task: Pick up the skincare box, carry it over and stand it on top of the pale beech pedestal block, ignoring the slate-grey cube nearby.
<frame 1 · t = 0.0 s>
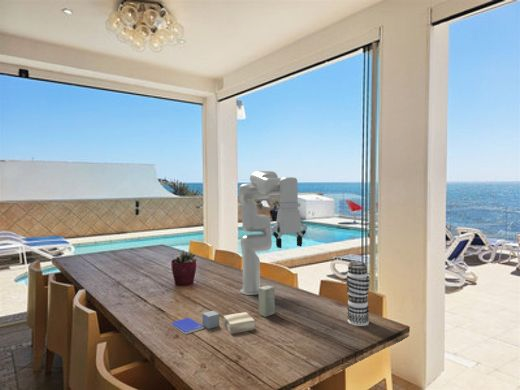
hand: (289, 246, 135), 31 cm above the table, fingers open, 9 cm apart
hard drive: (187, 328, 130), on the table
pedestal: (238, 327, 129), on the table
decorative candle: (358, 322, 132), on the table
skincare box: (266, 314, 142), on the table
grey cube: (210, 325, 130), on the table
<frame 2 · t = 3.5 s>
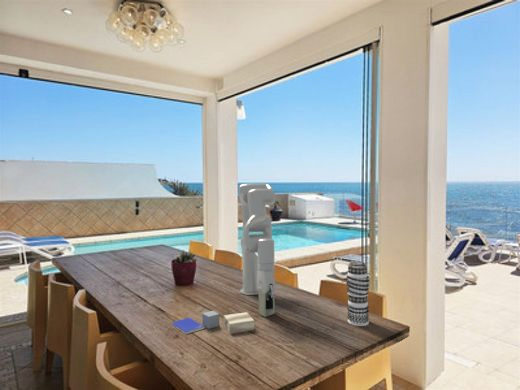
hand: (266, 306, 142), 3 cm above the table, fingers closed on skincare box, 5 cm apart
skincare box: (266, 314, 142), on the table, touching gripper
everything else where it was.
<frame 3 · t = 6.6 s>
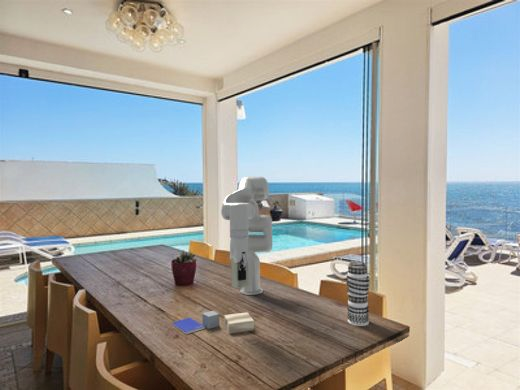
hand: (239, 277, 129), 20 cm above the table, fingers closed on skincare box, 5 cm apart
skincare box: (240, 287, 129), point 16 cm above the table, touching gripper
everything else where it was.
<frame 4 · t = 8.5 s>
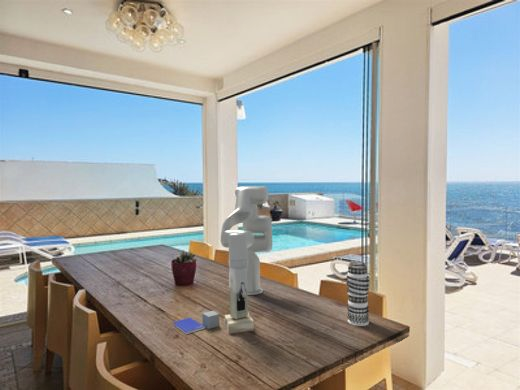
hand: (238, 307, 129), 8 cm above the table, fingers closed on skincare box, 5 cm apart
skincare box: (239, 316, 129), point 4 cm above the table, touching gripper
everything else where it was.
when the fingers open (8 cm above the table, at t = 9.9 s): skincare box stays where it is, point 3 cm above the table.
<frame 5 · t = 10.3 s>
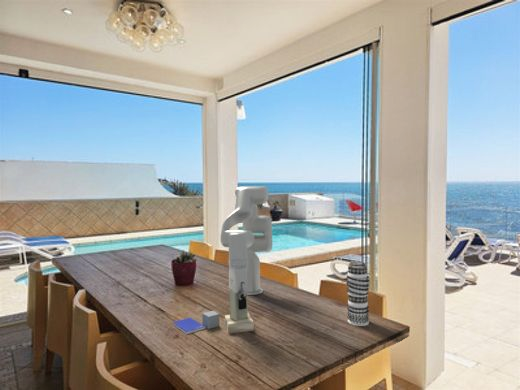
hand: (238, 305, 129), 9 cm above the table, fingers open, 9 cm apart
skincare box: (238, 318, 129), point 3 cm above the table
everything else where it was.
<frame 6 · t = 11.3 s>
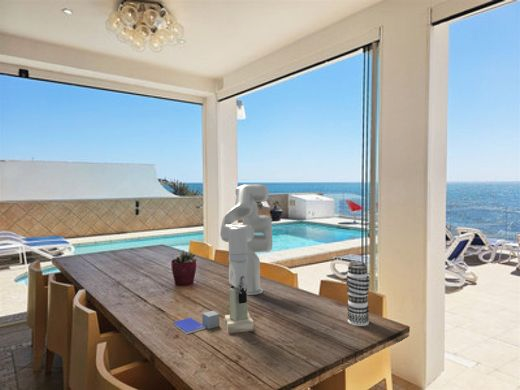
hand: (238, 299, 129), 11 cm above the table, fingers open, 9 cm apart
nothing on the table moved.
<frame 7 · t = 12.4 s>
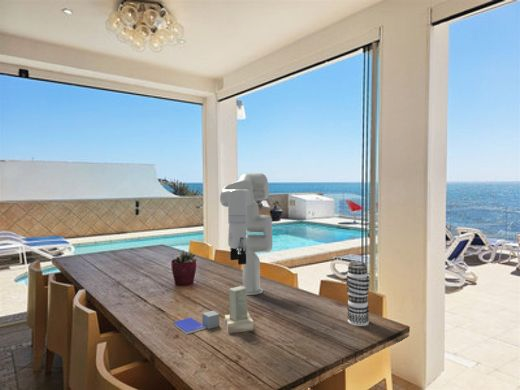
hand: (238, 261, 129), 26 cm above the table, fingers open, 9 cm apart
pedestal: (238, 327, 129), on the table, touching skincare box
skincare box: (238, 318, 129), point 3 cm above the table, touching pedestal
everything else where it was.
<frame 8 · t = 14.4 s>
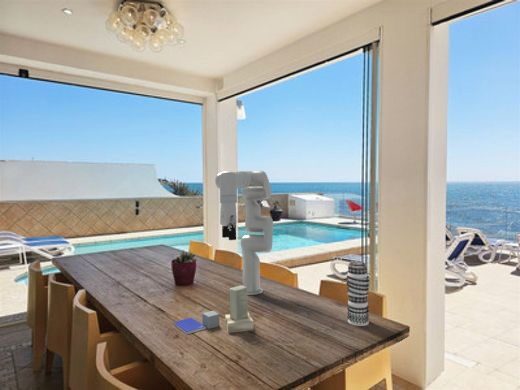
hand: (229, 238, 140), 34 cm above the table, fingers open, 9 cm apart
nothing on the table moved.
at the end: skincare box inside the target area on the pedestal (0.2 cm from its centre), point 3.9 cm above the pedestal's base; skincare box tilted 2°; the gripper is holding nothing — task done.
